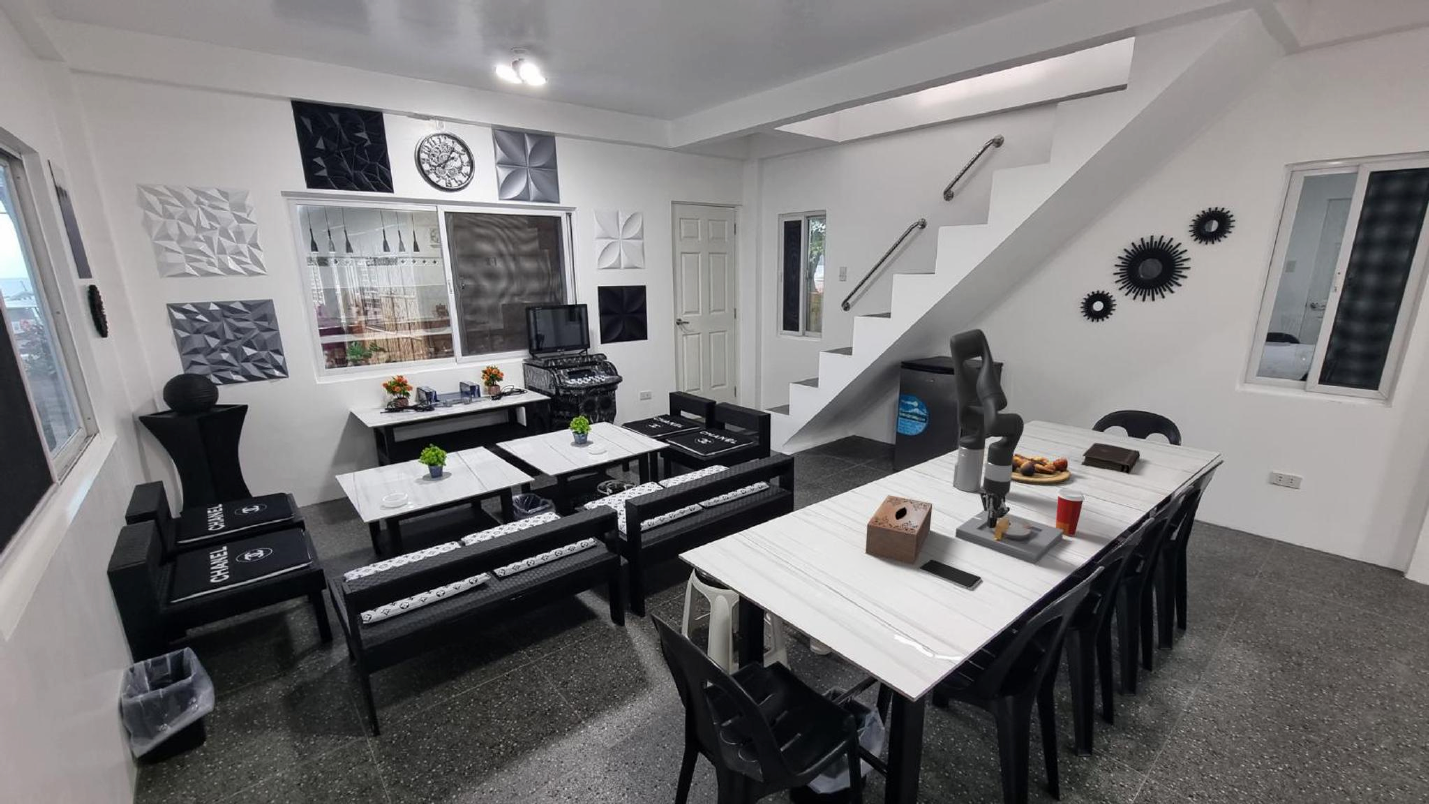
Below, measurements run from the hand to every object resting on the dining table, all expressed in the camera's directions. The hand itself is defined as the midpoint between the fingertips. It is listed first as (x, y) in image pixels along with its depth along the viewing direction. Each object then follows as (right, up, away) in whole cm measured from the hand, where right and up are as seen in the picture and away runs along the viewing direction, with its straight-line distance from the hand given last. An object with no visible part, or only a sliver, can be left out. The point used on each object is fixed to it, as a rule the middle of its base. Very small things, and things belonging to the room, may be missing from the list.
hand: (991, 527), depth 179 cm
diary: (+88, +12, +73) cm, 116 cm away
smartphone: (-20, -11, -16) cm, 28 cm away
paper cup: (+29, -4, +9) cm, 30 cm away
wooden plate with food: (+46, +9, +63) cm, 78 cm away
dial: (+6, -3, +3) cm, 7 cm away
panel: (+8, -4, +5) cm, 10 cm away
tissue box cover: (-28, -6, +3) cm, 29 cm away
